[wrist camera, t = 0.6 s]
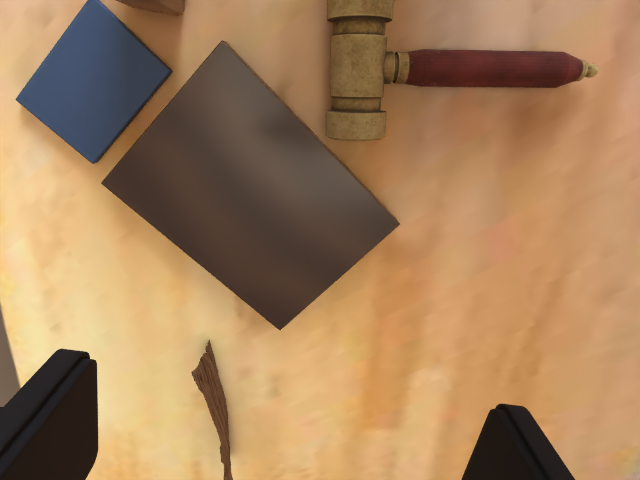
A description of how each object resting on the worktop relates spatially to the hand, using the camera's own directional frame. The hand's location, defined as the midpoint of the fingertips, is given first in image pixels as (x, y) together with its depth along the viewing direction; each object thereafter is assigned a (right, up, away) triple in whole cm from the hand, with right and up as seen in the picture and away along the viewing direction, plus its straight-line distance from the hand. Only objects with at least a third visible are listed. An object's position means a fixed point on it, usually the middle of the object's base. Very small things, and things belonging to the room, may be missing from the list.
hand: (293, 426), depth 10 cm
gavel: (+11, +18, +23) cm, 31 cm away
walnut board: (-5, +8, +26) cm, 28 cm away
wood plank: (-10, -13, +34) cm, 37 cm away
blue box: (-17, +16, +22) cm, 32 cm away
